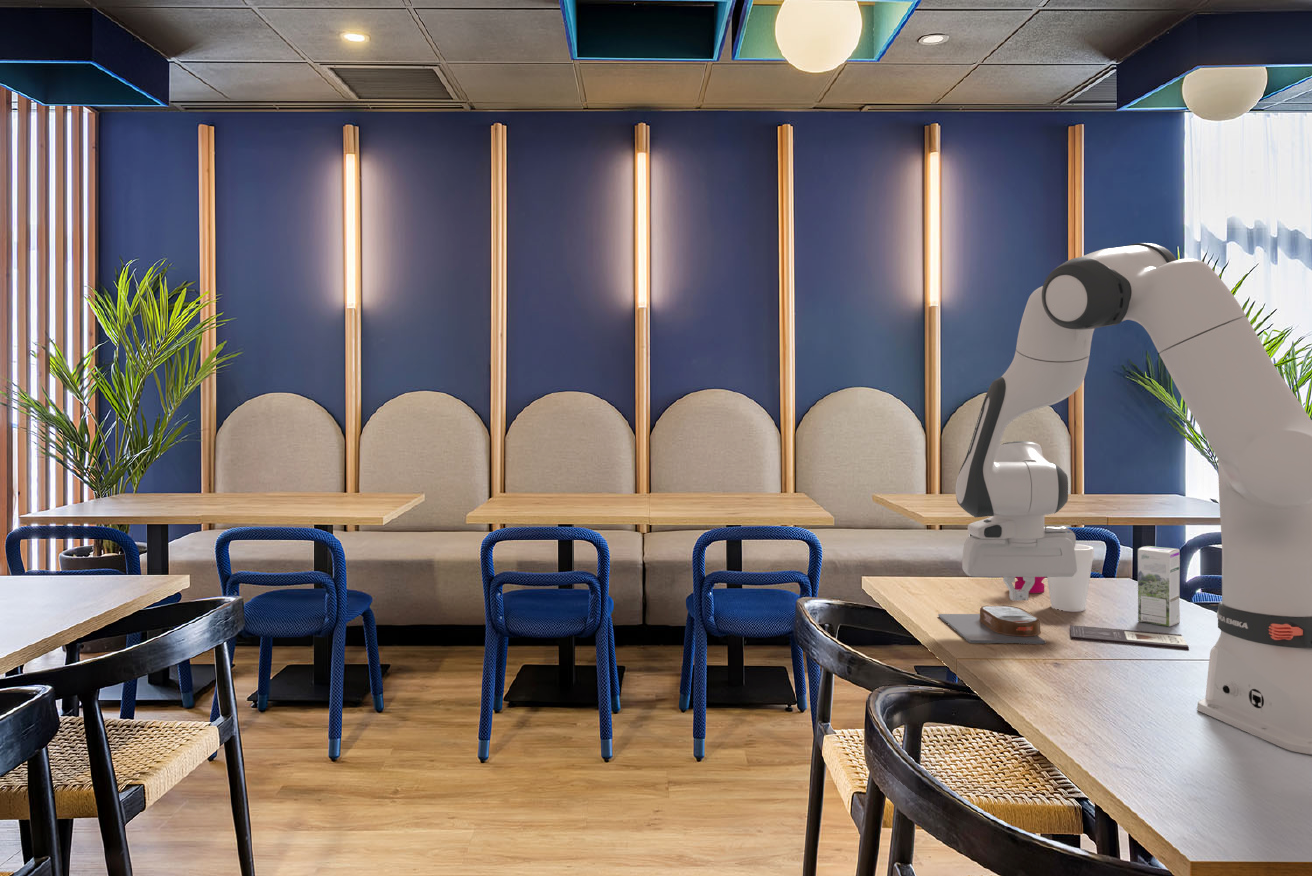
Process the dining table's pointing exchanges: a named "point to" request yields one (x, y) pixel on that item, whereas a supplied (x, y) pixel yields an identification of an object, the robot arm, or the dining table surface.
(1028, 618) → the tin
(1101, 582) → the dining table surface
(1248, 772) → the dining table surface
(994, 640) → the slate board
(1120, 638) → the chocolate bar
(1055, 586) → the foam cup
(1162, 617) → the syrup box
